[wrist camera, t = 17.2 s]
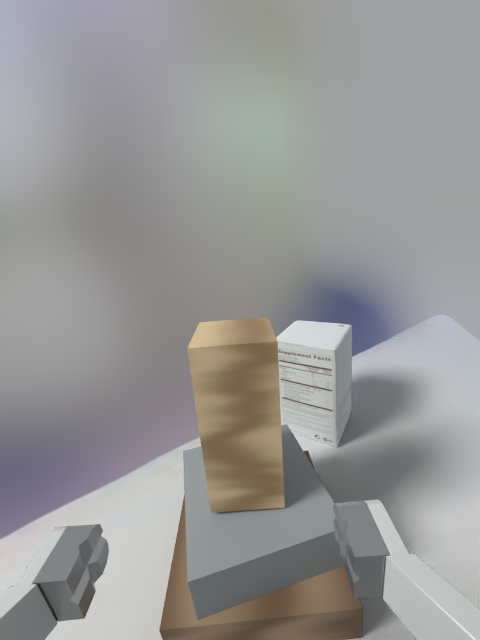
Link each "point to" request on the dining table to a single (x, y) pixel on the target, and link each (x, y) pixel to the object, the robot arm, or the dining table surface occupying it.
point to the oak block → (239, 413)
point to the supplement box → (316, 379)
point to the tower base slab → (264, 608)
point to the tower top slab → (257, 536)
